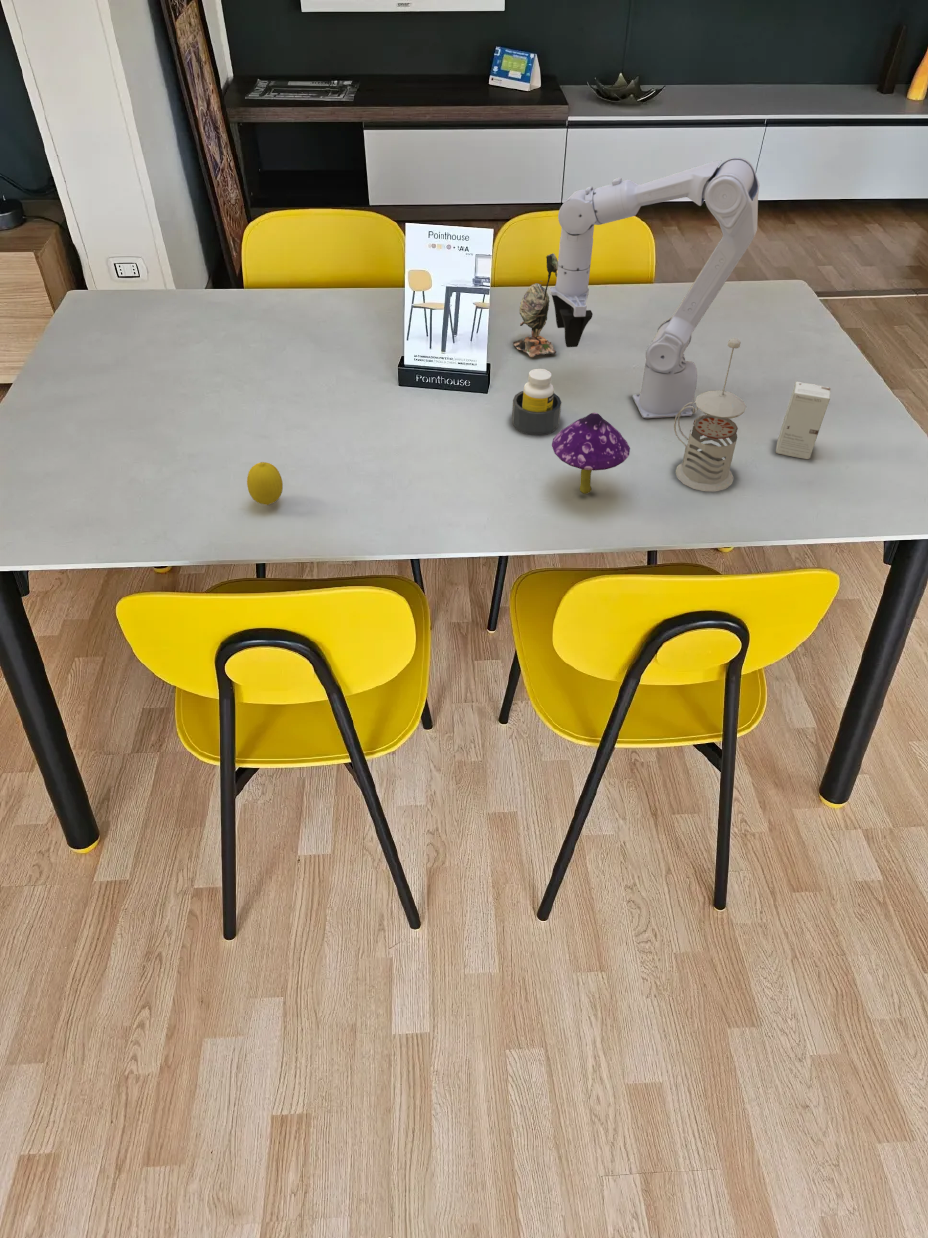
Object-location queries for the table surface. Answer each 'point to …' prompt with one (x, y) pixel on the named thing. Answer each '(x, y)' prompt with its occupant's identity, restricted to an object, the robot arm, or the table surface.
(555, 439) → the decorative mushroom
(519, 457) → the table surface
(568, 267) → the robot arm
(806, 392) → the cosmetic box
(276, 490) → the lemon
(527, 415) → the metal bowl
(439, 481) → the table surface
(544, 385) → the supplement bottle
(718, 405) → the french press
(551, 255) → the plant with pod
